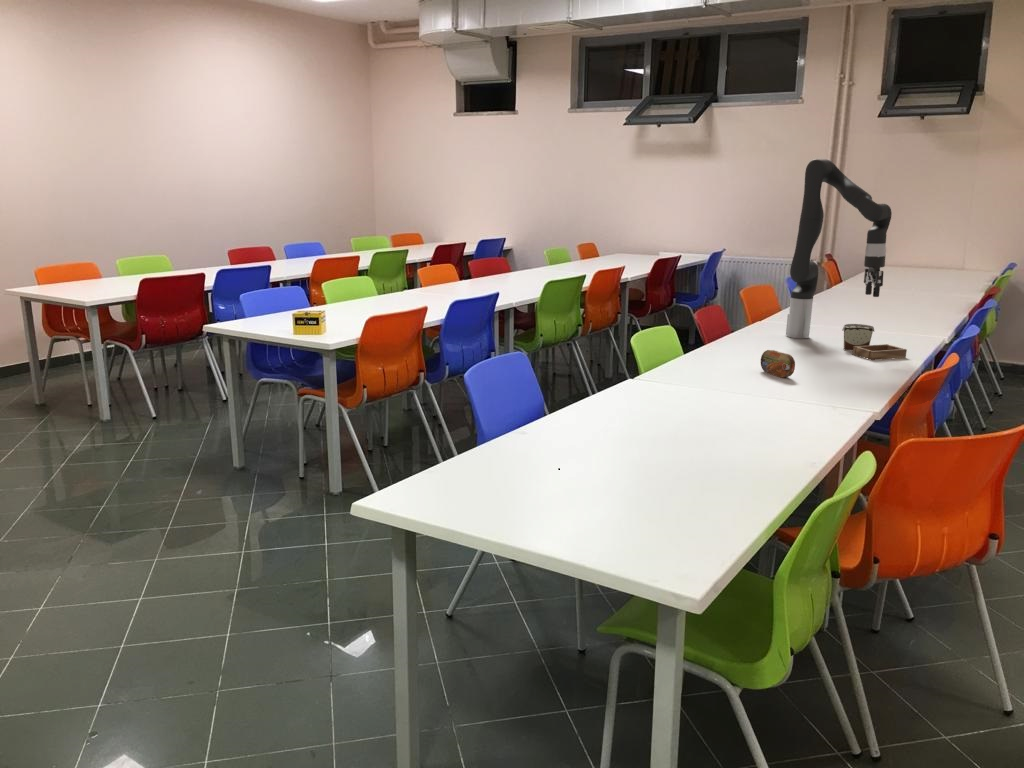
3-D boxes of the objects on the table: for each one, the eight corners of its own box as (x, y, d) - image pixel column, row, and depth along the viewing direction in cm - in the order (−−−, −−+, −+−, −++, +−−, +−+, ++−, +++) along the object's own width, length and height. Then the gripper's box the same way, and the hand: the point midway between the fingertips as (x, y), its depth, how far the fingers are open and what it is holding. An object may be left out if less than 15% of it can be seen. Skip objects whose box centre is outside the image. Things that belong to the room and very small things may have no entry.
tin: (758, 370, 287) (761, 347, 285) (765, 369, 288) (767, 347, 286) (788, 380, 274) (790, 356, 272) (795, 379, 275) (797, 355, 273)
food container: (866, 347, 328) (869, 324, 325) (871, 351, 322) (875, 326, 319) (836, 347, 329) (838, 323, 326) (840, 350, 323) (843, 325, 320)
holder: (852, 354, 315) (853, 346, 314) (885, 352, 320) (886, 344, 319) (871, 360, 305) (872, 351, 304) (905, 357, 310) (906, 349, 309)
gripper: (859, 254, 323) (856, 294, 327) (871, 256, 309) (868, 297, 313) (878, 253, 323) (875, 293, 326) (891, 255, 309) (888, 297, 312)
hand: (872, 295), depth 319 cm, fingers open, 8 cm apart
